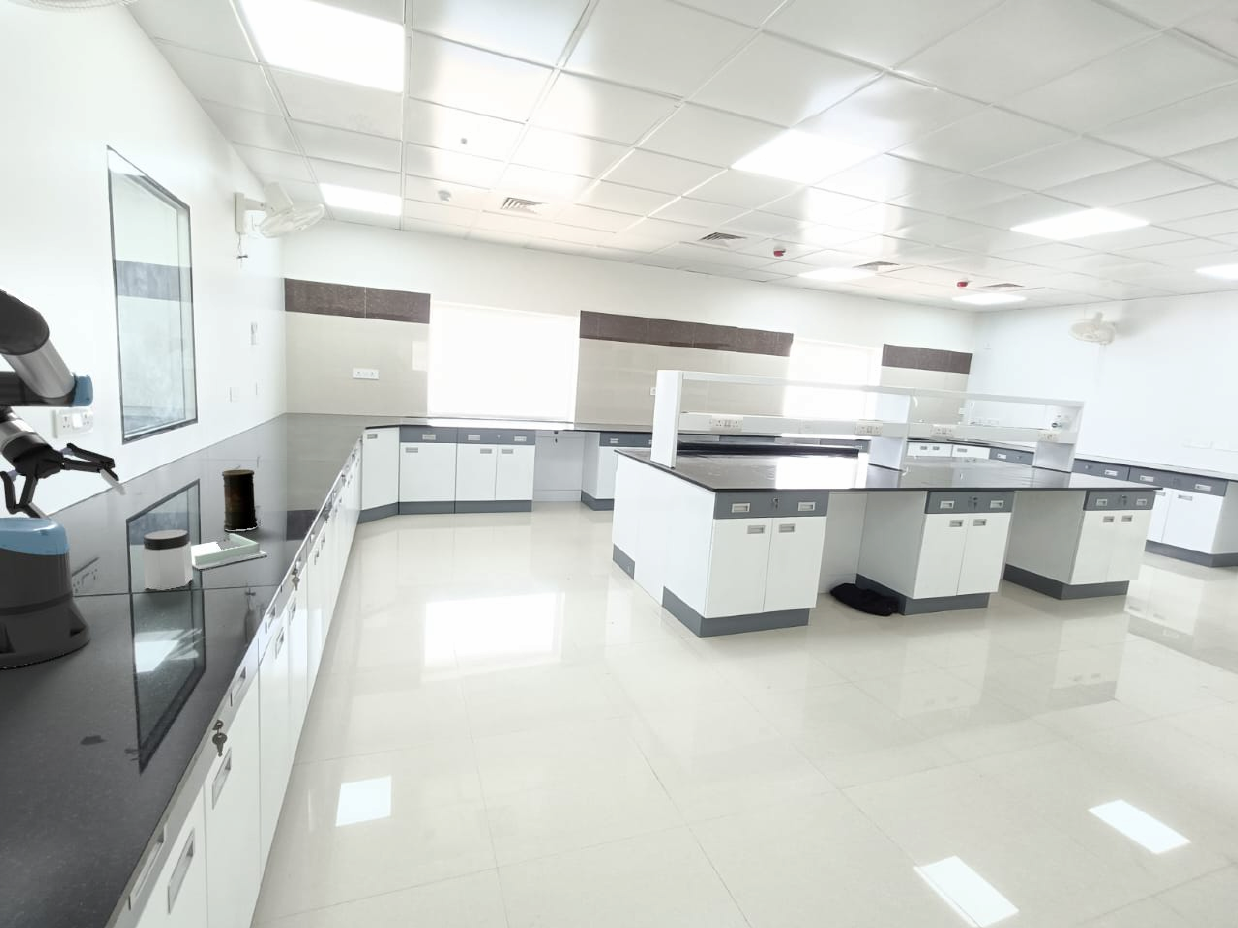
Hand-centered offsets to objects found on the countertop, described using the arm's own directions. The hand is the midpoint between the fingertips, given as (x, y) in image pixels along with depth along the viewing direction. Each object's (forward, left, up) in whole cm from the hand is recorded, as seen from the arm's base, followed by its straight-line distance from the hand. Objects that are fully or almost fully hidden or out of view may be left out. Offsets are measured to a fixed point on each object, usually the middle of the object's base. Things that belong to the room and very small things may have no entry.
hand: (89, 508), depth 130 cm
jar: (-8, -11, -19) cm, 23 cm away
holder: (+7, -27, -18) cm, 33 cm away
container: (+29, -43, -19) cm, 55 cm away
